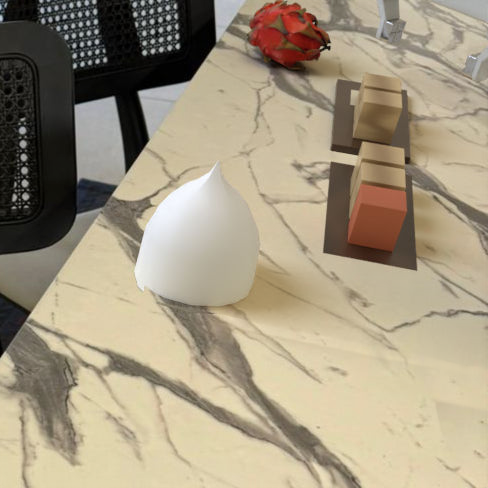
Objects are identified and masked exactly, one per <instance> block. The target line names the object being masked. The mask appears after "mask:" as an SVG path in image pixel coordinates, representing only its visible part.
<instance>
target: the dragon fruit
mask: <svg viewBox="0 0 488 488" xmlns="http://www.w3.org/2000/svg"><path fill="white" fill-rule="evenodd" d="M318 26H319V20H318V18H317V16H316V15H315V14H313V13H311V12H307V8H306V7H303V8H302V6H301V4H300V3H299V2H293V3H292V4H288V0H274V2H265V4H263V6H262V7H260V8H259V9H257V10H256V11H255V13H254V14H253V17H251V18H250V19H249V23H248V27H249V29H250V31H248V32H247V33H246V36H247V38H246V41H247V42H248V44H249V45H250V46H253V47H258V48H259V51H260V52H261V55H262V58H263V63H265V64H266V63H269V62H271V60H273V61H274V62H276V63H277V64H280V65H282V66H283V67H286V69H288V70H291V71H298V70H299V71H300V70H306V68H305V66H303V65H296V63H297V62H305V61H307V62H311V61H315V62H318V61H319V59H320V57H321V54H322V52H324V51H326V50H327V51H329V52H330V51H331V49H332V46H331V44H332V41H331V38H330V36H329V33H327V32H326V31H325V30H324V29H323V28H321V27H318ZM321 47H322V48H321Z"/></svg>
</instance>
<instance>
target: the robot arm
mask: <svg viewBox="0 0 488 488" xmlns="http://www.w3.org/2000/svg"><path fill="white" fill-rule="evenodd" d="M426 1H428V2H430V3H433V4H435V5H437V6H441V7H443V8H445V9H449V10H451V11H454V12H456V13H459V14H461V15H464V16H466V17H469V18H472V19H475V20H477V21H479V22H482V23H485V24H486V25H488V0H426ZM376 5H377V10H378V17H379V19H380V20H379V23H378V27H377V29H376V34H375V39H376V40H379V41H382V42H383V43H386V44H387V45H388V44H389V45H392V44H397V43H399V42H401V40H402V37H403V31H404V30H405V28H406V24H407V21H406V20H403V19H402V18H401V16H400V15H401V14H400V0H376ZM486 38H487V39H488V35H487V36H486ZM464 63H465V65H464V66H465V67H464V68H463V69H462V72H461V75H462V77H464V78H466V79H469V80H470V81H471V80H472V81H473V82H476V83H479V82H483V81H486V80H487V79H488V45H487V46H486V48H484V49H483V50H482V51H481V52H477V53H472V54H468V55H467V58H466V60H465V62H464Z"/></svg>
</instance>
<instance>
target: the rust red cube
mask: <svg viewBox="0 0 488 488" xmlns="http://www.w3.org/2000/svg"><path fill="white" fill-rule="evenodd" d="M406 213H407V201H406V192H403V191H398V190H392V189H387V188H381V187H376V186H370V185H365V184H361V186H360V189H359V193H358V196H357V199H356V202H355V205H354V208H353V211H352V215H351V218H350V221H349V227H348V243H349V244H354V245H359V246H364V247H370V248H375V249H380V250H386V251H391V252H393V249H394V247H395V244H396V241H397V238H398V235H399V233H400V230H401V227H402V224H403V221H404V219H405V216H406Z"/></svg>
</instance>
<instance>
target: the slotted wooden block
mask: <svg viewBox="0 0 488 488" xmlns="http://www.w3.org/2000/svg"><path fill="white" fill-rule="evenodd" d="M334 93H335V94H334V104H333V105H334V106H333V114H332V115H333V116H332V117H333V118H332V128H331V137H330V138H331V140H330V151H332V152H338V153H345V154H350V155H354V156H358V154H359V151H360V148H361V145H362V142H369V143H374V144H380V145H386V146H392V147H397V148H403V149H404V156H405V165H406V164H407V165H409V164H410V161H411V158H412V157H411V156H412V155H411V140H410V121H409V105H408V90H407V89H402V78H399V77H394V76H388V75H381V74H376V73H370V72H364V73H363V77H362V80H361V82H359V81H353V80H349V79H342V78H337V80H336V83H335V92H334Z"/></svg>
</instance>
